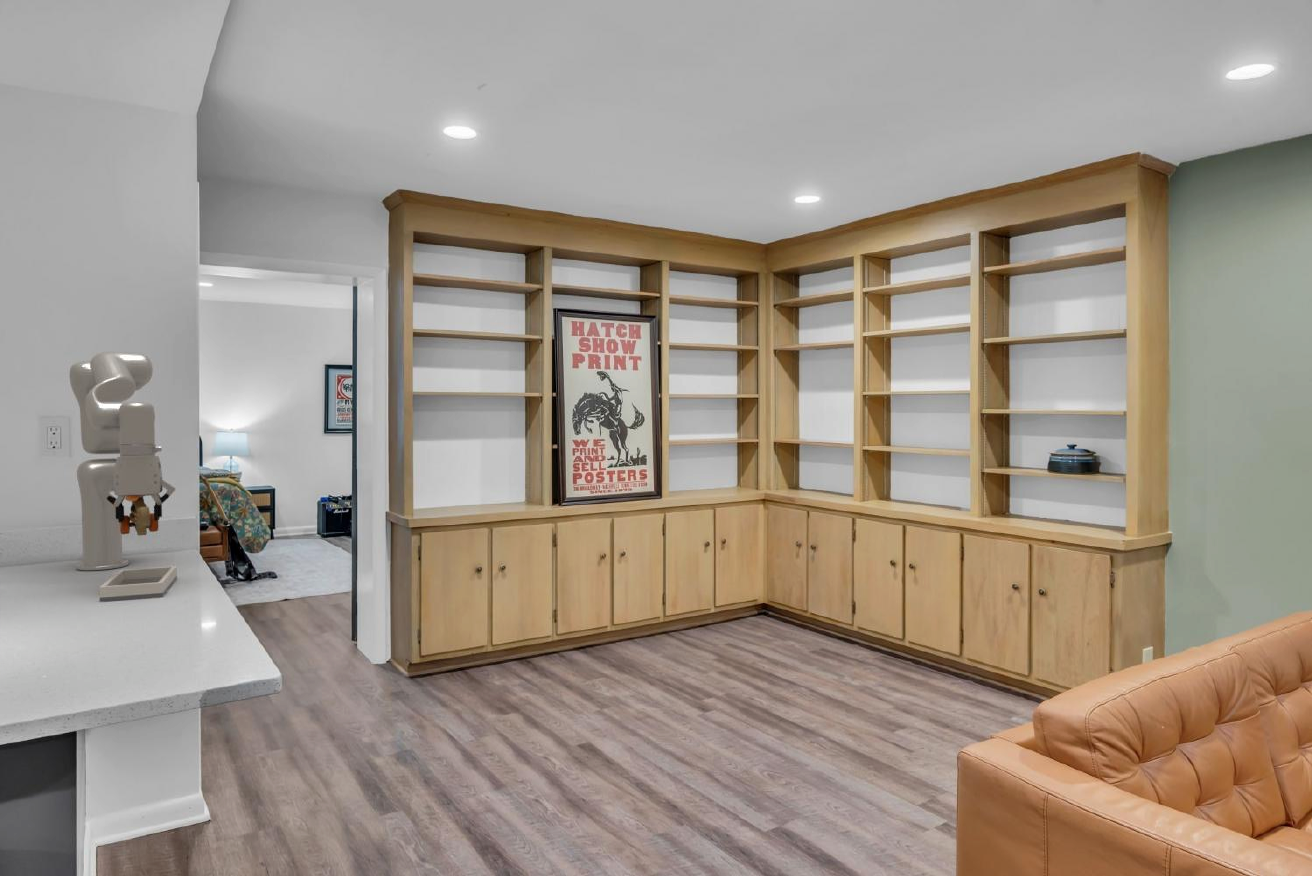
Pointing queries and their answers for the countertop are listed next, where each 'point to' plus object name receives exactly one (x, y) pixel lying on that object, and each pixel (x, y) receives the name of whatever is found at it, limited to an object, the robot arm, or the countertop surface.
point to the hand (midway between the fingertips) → (139, 520)
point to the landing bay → (138, 583)
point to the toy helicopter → (138, 517)
